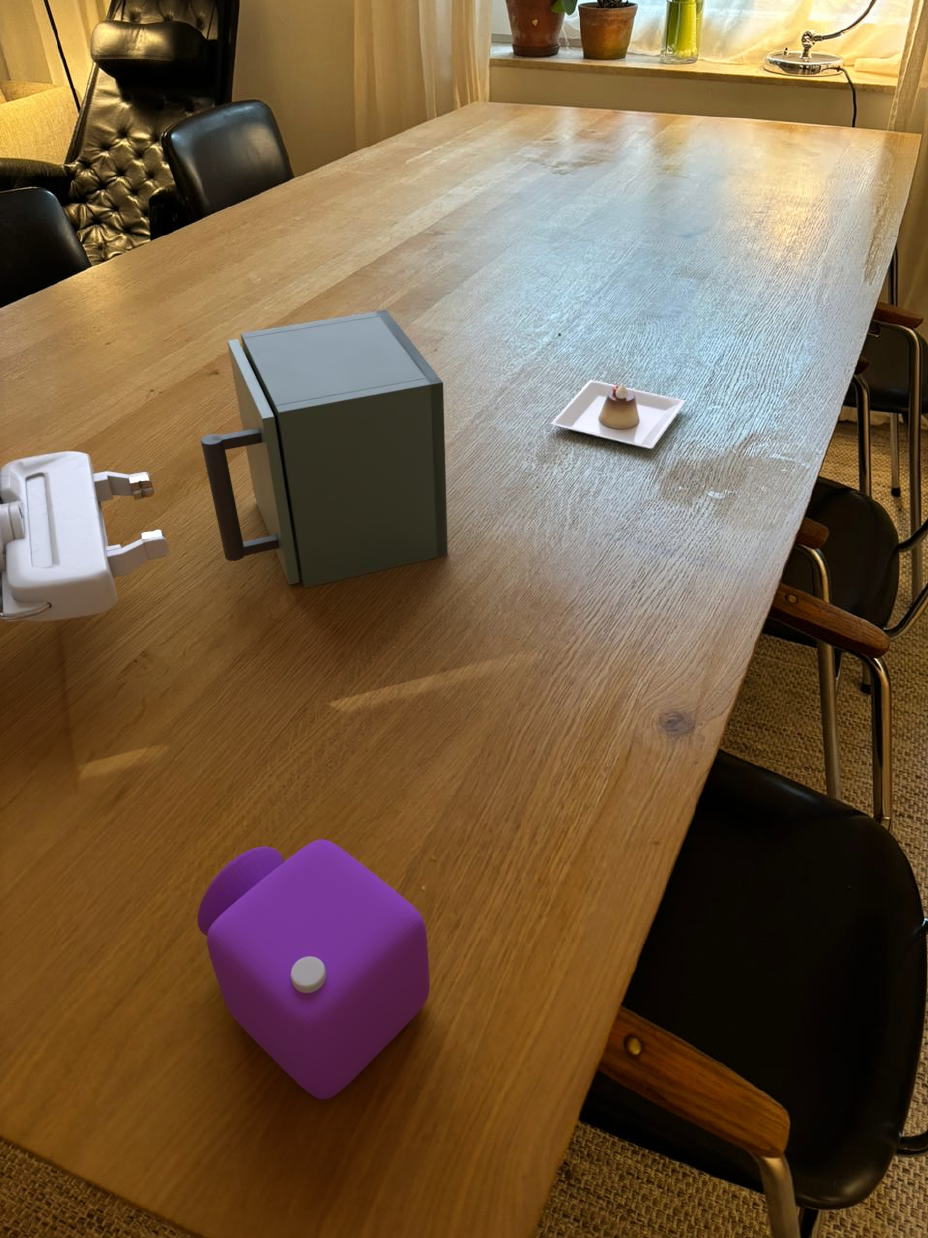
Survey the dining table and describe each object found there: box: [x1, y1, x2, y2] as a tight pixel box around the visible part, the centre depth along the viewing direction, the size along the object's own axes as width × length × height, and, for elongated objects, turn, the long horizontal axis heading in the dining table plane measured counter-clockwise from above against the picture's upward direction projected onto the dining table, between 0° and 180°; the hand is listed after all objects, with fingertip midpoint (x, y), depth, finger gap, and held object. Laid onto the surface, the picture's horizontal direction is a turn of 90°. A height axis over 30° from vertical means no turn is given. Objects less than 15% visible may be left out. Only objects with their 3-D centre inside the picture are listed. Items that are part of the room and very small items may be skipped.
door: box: [200, 338, 300, 585], centre depth 90 cm, size 6×16×17 cm, turn 21°
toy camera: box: [197, 838, 431, 1100], centre depth 57 cm, size 11×14×10 cm
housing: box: [240, 309, 449, 589], centre depth 93 cm, size 14×16×18 cm
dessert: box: [550, 379, 687, 450], centre depth 112 cm, size 12×12×5 cm
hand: (159, 511), depth 85 cm, fingers open, 8 cm apart
